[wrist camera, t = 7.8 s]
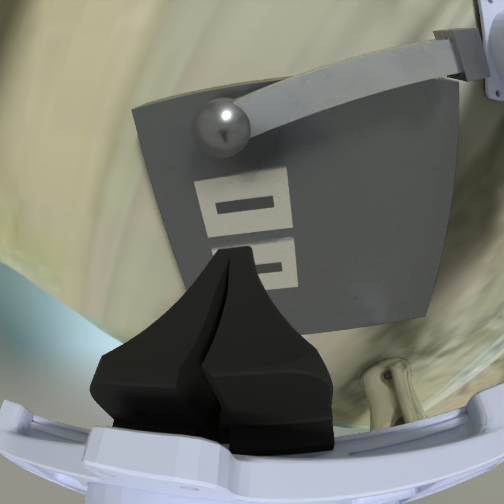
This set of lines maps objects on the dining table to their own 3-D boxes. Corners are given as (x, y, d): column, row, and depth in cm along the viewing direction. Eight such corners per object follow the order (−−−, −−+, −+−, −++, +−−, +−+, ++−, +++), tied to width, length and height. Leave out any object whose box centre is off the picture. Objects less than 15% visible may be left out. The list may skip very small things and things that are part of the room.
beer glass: (373, 353, 29) (403, 490, 17) (424, 355, 30) (460, 474, 17) (346, 388, 33) (362, 507, 21) (394, 388, 34) (417, 496, 21)
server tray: (437, 77, 14) (475, 86, 11) (415, 296, 24) (432, 331, 21) (147, 102, 16) (118, 115, 13) (210, 319, 26) (204, 358, 23)
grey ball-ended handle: (212, 156, 14) (206, 169, 12) (189, 111, 13) (179, 118, 11) (470, 72, 10) (491, 77, 9) (457, 28, 9) (477, 27, 8)
